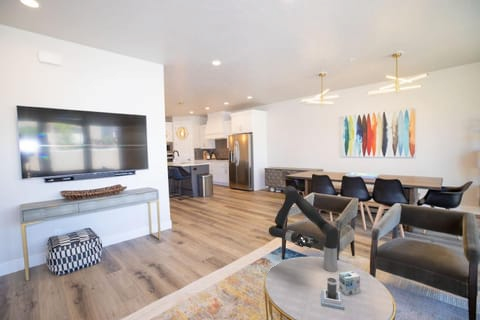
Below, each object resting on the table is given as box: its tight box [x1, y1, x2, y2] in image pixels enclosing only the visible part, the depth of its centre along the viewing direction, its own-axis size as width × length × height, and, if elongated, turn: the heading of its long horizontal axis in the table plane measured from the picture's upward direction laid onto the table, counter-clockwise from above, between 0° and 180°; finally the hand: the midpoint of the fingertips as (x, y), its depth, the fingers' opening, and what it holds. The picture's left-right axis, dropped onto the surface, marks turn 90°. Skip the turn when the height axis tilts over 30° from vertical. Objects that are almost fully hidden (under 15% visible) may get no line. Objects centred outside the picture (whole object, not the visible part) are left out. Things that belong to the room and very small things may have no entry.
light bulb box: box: [338, 270, 361, 296], centre depth 140 cm, size 11×7×11 cm, turn 101°
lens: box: [326, 277, 338, 300], centre depth 131 cm, size 5×5×11 cm
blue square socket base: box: [320, 289, 345, 311], centre depth 132 cm, size 12×12×4 cm
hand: (314, 244), depth 141 cm, fingers open, 8 cm apart
